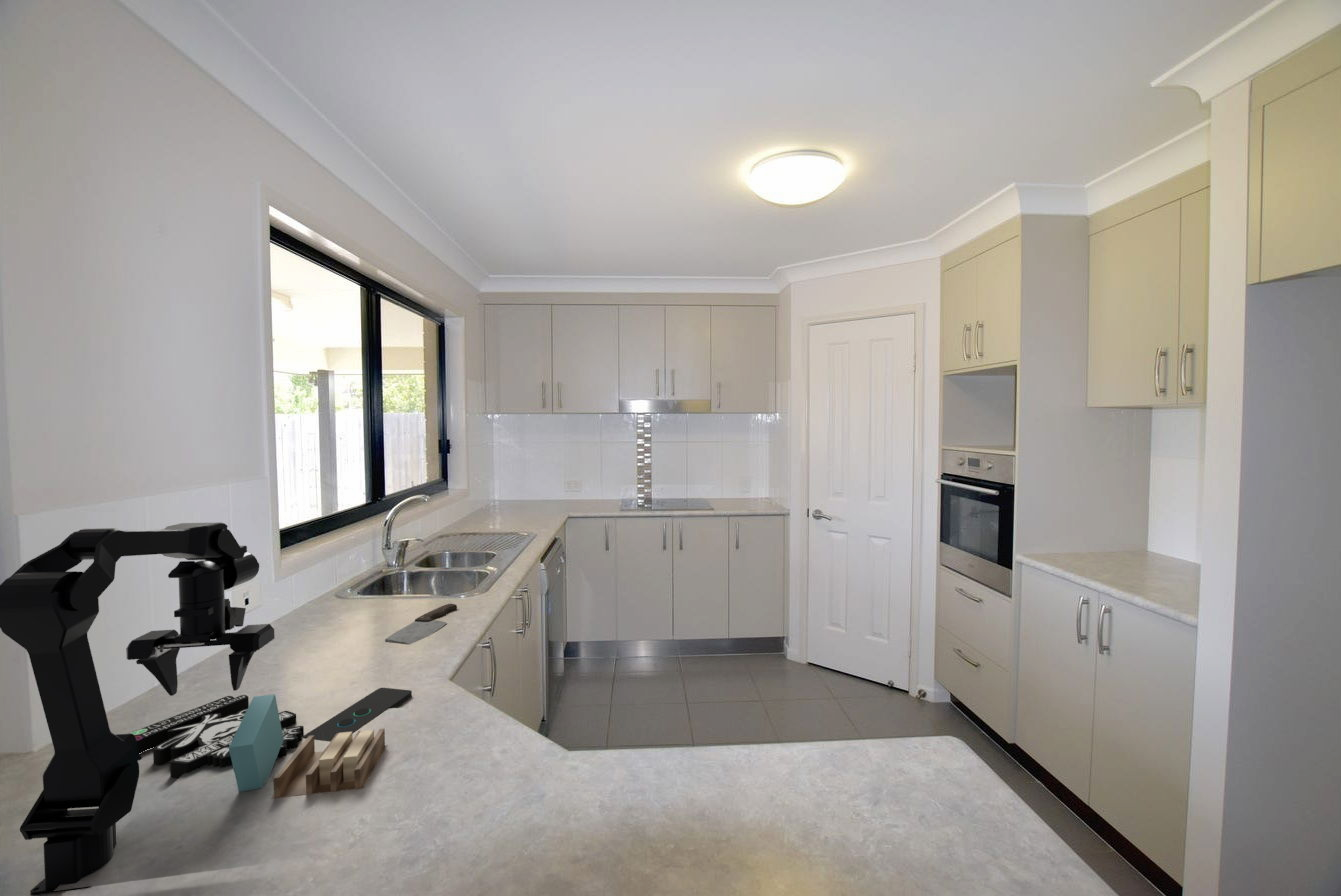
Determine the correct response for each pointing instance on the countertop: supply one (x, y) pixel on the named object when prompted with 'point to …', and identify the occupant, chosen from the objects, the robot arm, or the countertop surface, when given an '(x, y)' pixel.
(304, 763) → the rack
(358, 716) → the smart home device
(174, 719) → the sign
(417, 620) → the cleaver
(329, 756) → the block
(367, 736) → the offcut front
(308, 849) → the countertop surface
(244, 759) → the block
